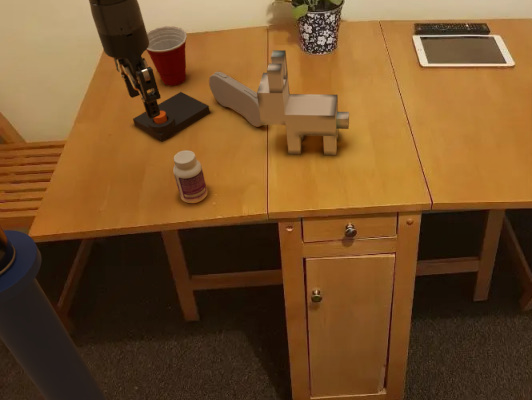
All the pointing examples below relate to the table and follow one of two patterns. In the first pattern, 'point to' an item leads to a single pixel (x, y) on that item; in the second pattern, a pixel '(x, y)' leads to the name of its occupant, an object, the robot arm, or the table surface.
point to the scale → (173, 116)
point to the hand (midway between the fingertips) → (144, 105)
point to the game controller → (236, 97)
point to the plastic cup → (168, 53)
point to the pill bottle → (189, 177)
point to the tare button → (160, 118)
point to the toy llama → (298, 109)
